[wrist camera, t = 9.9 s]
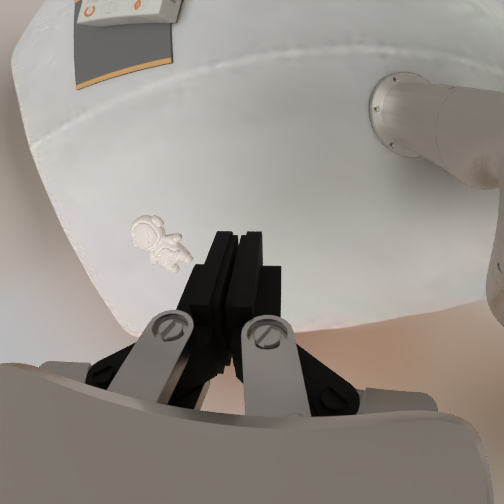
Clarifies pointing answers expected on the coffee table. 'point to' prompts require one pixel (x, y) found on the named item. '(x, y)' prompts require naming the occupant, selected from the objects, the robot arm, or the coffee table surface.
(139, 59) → the mat
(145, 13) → the small box
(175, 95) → the coffee table surface
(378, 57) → the coffee table surface
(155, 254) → the astronaut figurine
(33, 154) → the coffee table surface
